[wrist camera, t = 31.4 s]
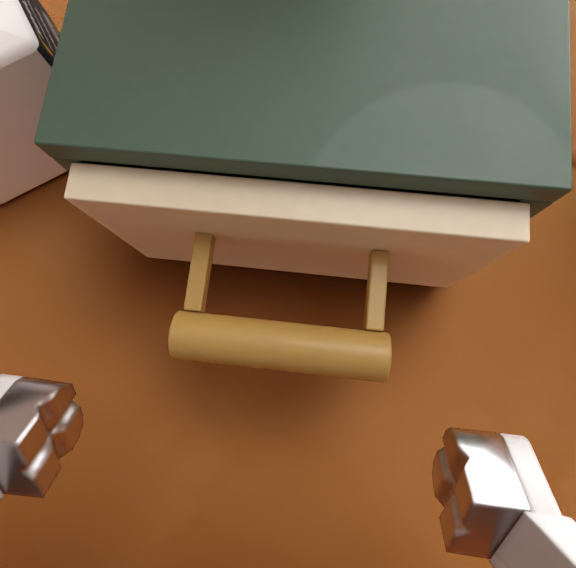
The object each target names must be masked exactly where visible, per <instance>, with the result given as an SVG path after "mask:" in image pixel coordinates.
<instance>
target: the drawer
mask: <svg viewBox="0 0 576 568" xmlns="http://www.w3.org/2000/svg"><path fill="white" fill-rule="evenodd" d="M143 168H144V169H142V168H131V167H120V166H109V165H98V164H87V163H76V162H72V163H71V167H70V171H69V176H68V180H67V185H66V189H65V193H64V199H66V200H67V201H69V202H70V203H71V204H73V205H74V206H76V207H77V208H79V209H80V210H81V211H83V212H84V213H86V214H87V215H88V216H90V217H91V218H93V219H94V220H95V221H97V222H98V223H100V224H101V225H103V226H104V227H105V228H107V229H108V230H110V231H111V232H112V233H114V234H115V235H117V236H118V237H119V238H121V239H122V240H124V241H125V242H127V243H128V244H129V245H131V246H132V247H134V248H135V249H136V250H138V251H139V252H141V253H142V254H143V255H145V256H146V257H150V258H159V259H169V260H179V261H189V262H191V264H190V270H189V276H188V283H187V289H186V295H185V301H184V307H183V309H184V310H185V311H182V310H180V311H177V312H176V313H175V315H174V317H173V319H172V321H171V324H170V328H169V334H168V351H169V355H170V357H172V358H174V359H182V360H191V361H200V362H208V363H217V364H225V365H234V366H243V367H251V368H260V369H269V370H277V371H286V372H295V373H303V374H312V375H321V376H329V377H338V378H347V379H355V380H364V381H373V382H381V383H384V382H386V381H387V379H388V376H389V372H390V367H391V358H392V343H391V337H390V335H389V334H388V333H384V332H382V331H383V330H384V322H385V307H386V293H387V282H395V283H405V284H415V285H424V286H434V287H444V288H448V287H450V286H452V285H453V284H455V283H457V282H459V281H461V280H462V279H464V278H466V277H468V276H470V275H471V274H473V273H475V272H477V271H479V270H480V269H482V268H484V267H486V266H488V265H489V264H491V263H493V262H495V261H497V260H498V259H500V258H502V257H504V256H506V255H507V254H509V253H511V252H513V251H515V250H516V249H518V248H520V247H522V246H524V245H525V244H527V243H529V241H530V204H529V203H521V202H510V201H499V200H487V199H476V198H465V197H463V196H464V194H453V193H442V192H431V191H419V190H408V189H397V188H386V187H375V186H364V185H352V184H341V183H330V182H319V181H308V180H296V179H285V178H274V177H263V176H252V175H241V174H229V173H218V172H207V171H196V170H185V169H174V168H162V167H151V166H143ZM212 264H218V265H228V266H238V267H248V268H258V269H267V270H277V271H287V272H297V273H307V274H316V275H326V276H336V277H346V278H356V279H365V280H367V289H366V301H365V314H364V327H363V329H364V330H357V329H348V328H338V327H329V326H320V325H311V324H302V323H292V322H283V321H274V320H265V319H256V318H246V317H237V316H228V315H219V314H210V313H204V312H205V306H206V300H207V293H208V287H209V280H210V273H211V267H212Z"/></svg>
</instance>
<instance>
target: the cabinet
mask: <svg viewBox="0 0 576 568" xmlns="http://www.w3.org/2000/svg"><path fill="white" fill-rule="evenodd" d="M34 144H35V145H37V146H38V147H39V148H40V149H41V150H43V151H44V152H45V153H46V154H47V155H49V156H50V157H52V158H53V159H54V160H55V161H56V162H57V163H59V164H60V165H61V166H62V167H63V168H65V169H66V170H67V171H68V172H69V171H70V167H71V163H72V162H76V163H87V164H98V165H109V166H120V167H131V168H142V169H144V168H143V166H151V167H162V168H174V169H185V170H196V171H207V172H218V173H229V174H241V175H252V176H263V177H274V178H285V179H296V180H308V181H319V182H330V183H341V184H352V185H364V186H375V187H386V188H397V189H408V190H419V191H431V192H442V193H453V194H464V196H463V197H465V198H476V199H487V200H499V201H510V202H521V203H529V204H530V218H531V217H533V216H534V215H536V214H537V213H539V212H540V211H542V210H543V209H545V208H546V207H548V206H550V205H551V204H552V203H553V202H555V201H556V200H558V199H559V198H561V197H563V196H564V195H566V194H567V193H569V192H570V191H571V190H572V140H571V81H570V23H569V0H69V1H68V5H67V9H66V13H65V17H64V21H63V25H62V29H61V33H60V37H59V41H58V45H57V50H56V54H55V58H54V62H53V66H52V70H51V74H50V78H49V82H48V86H47V90H46V94H45V98H44V102H43V106H42V110H41V114H40V118H39V122H38V126H37V130H36V134H35V138H34Z"/></svg>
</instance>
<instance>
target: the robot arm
mask: <svg viewBox="0 0 576 568" xmlns="http://www.w3.org/2000/svg"><path fill="white" fill-rule="evenodd" d="M75 395H76V392H75V389H74V387H73V384H71V383H65V382H58V381H51V380H45V379H38V378H31V377H24V376H16V375H9V374H0V499H1V498H2V497H4V495H3V494H11V495H20V496H30V497H39V498H44V496H45V495H46V493H47V491H48V490H49V488H50V486H51V485H52V483H53V481H54V480H55V478H56V477H57V475H58V473H59V472H60V470H61V463H60V458H61V457H63V456H64V455H66V454H67V453H69V452H70V451H72V450H73V448H74V446H75V444H76V443H77V441H78V439H79V437H80V433H81V430H82V427H83V413H82V410H81V407H80V406H78V405H77V404H76V403H75V402H74V401H73V398H74V397H75ZM443 443H444V447H443V448H441V449H440V450H438V451H437V452H436V455H435V458H434V461H433V470H432V479H433V488H434V493H435V497H436V498H437V499H438V500H439V502H440V503H441V504H442V505H443V506H444V509H443V511H442V513H441V515H440V517H439V519H440V524H441V529H442V534H443V539H444V544H445V549H446V552H449V553H456V554H462V555H468V556H474V557H480V558H486V559H490V561H489V562H490V563H491V565H492V566H493V568H576V522H575V521H574V520H573V519H572V518H571V517H567V516H562V514H561V512H560V509H559V507H558V505H557V503H556V500H555V498H554V496H553V494H552V491H551V489H550V487H549V485H548V482H547V480H546V478H545V476H544V473H543V471H542V469H541V467H540V464H539V462H538V460H537V457H536V455H535V453H534V451H533V448H532V446H531V444H530V442H529V440H528V439H527V438H526V437H525V436H519V435H510V434H501V433H496V432H488V431H479V430H469V429H460V428H448V429H447V430H446V431H445V433H444V436H443Z"/></svg>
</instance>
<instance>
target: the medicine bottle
mask: <svg viewBox="0 0 576 568" xmlns="http://www.w3.org/2000/svg"><path fill="white" fill-rule="evenodd" d="M60 33H61V32H60V30H59V29H58V27H57V26H56V25H55V23H54V22H53V21H52V19H51V18H50V16H49V15H48V14H47V12H46V11H45V9H44V8H43V7H42V5H41V4H40V2H39V1H38V0H0V205H1V204H3V203H5V202H7V201H9V200H11V199H13V198H15V197H17V196H19V195H21V194H23V193H25V192H27V191H29V190H31V189H33V188H35V187H37V186H39V185H41V184H43V183H45V182H47V181H49V180H51V179H53V178H55V177H57V176H59V175H61V174H63V173H65V172H67V170H66V169H65V168H63V167H62V166H61V165H60V164H59V163H57V162H56V161H55V160H54V159H53V158H52V157H50V156H49V155H47V154H46V153H45V152H44V151H43V150H41V149H40V148H39V147H38V146H37V145H35V144H34V138H35V134H36V130H37V126H38V122H39V118H40V114H41V110H42V106H43V102H44V98H45V94H46V90H47V86H48V82H49V78H50V74H51V70H52V66H53V62H54V58H55V54H56V50H57V45H58V41H59V37H60Z"/></svg>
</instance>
